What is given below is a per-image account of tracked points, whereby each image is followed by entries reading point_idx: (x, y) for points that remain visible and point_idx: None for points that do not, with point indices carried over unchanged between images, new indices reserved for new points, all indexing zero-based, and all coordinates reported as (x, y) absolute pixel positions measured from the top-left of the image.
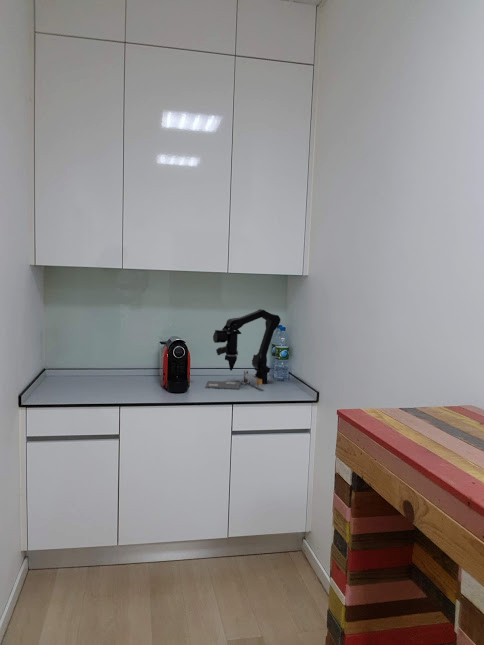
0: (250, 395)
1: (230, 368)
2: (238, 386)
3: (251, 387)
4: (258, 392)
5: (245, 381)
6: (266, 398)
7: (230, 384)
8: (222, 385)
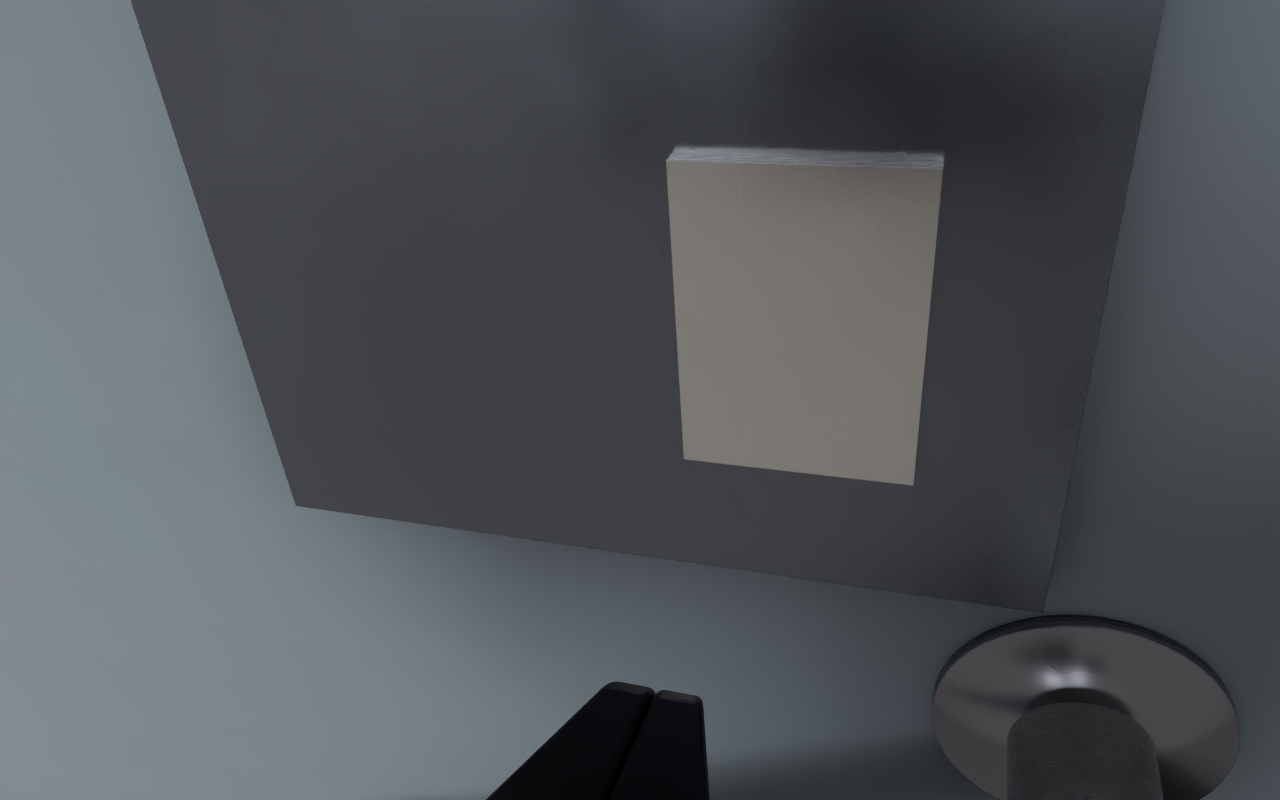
0: (14, 621)
1: (532, 793)
2: (483, 513)
3: None
4: (273, 768)
5: (1008, 764)
6: (8, 780)
7: (659, 312)
8: (429, 29)
